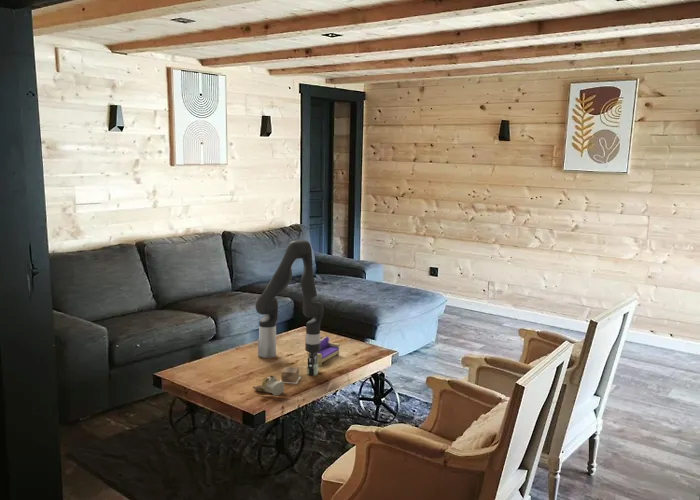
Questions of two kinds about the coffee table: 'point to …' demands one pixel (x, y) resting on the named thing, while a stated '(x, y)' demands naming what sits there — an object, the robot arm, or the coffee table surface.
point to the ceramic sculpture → (271, 386)
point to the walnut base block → (290, 374)
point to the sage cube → (314, 369)
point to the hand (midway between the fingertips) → (312, 373)
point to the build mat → (291, 382)
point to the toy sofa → (326, 350)
